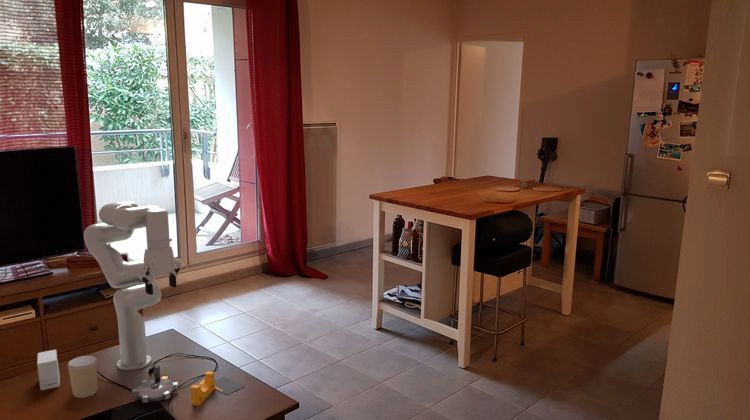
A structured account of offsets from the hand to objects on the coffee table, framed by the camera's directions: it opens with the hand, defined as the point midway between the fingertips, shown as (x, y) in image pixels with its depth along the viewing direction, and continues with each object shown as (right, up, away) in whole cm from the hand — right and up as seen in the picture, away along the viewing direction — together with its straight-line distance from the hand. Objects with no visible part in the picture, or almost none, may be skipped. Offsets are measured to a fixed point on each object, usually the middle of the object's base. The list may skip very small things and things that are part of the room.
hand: (161, 290), depth 208 cm
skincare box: (-43, -35, +6) cm, 56 cm away
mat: (+21, -36, +5) cm, 42 cm away
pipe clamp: (+15, -37, -3) cm, 40 cm away
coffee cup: (-27, -37, -1) cm, 45 cm away
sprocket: (-1, -36, -2) cm, 36 cm away
